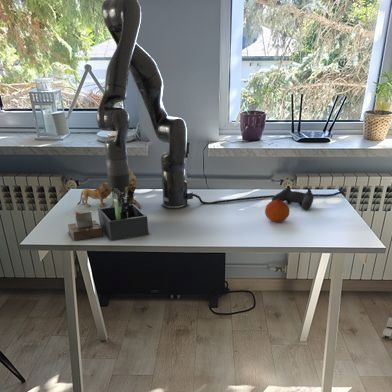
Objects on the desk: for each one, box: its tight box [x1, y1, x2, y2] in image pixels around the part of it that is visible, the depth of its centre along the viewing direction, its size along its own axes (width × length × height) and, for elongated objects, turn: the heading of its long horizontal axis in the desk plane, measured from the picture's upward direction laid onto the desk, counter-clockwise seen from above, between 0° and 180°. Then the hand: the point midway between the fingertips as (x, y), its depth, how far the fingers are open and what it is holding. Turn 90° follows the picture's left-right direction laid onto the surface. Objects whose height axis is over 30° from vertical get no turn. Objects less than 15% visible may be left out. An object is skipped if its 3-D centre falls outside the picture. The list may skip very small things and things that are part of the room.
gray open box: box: [97, 204, 149, 241], centre depth 180 cm, size 14×16×7 cm
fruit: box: [264, 199, 290, 223], centre depth 187 cm, size 9×9×8 cm
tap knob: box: [73, 209, 93, 228], centre depth 176 cm, size 6×2×5 cm, turn 114°
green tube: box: [114, 197, 128, 220], centre depth 178 cm, size 5×5×11 cm
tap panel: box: [67, 219, 103, 241], centre depth 178 cm, size 10×10×3 cm
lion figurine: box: [77, 182, 112, 208], centre depth 204 cm, size 15×5×9 cm, turn 94°
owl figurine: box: [109, 167, 141, 209], centre depth 197 cm, size 18×12×17 cm, turn 176°
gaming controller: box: [271, 184, 314, 211], centre depth 203 cm, size 17×6×10 cm
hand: (122, 220), depth 180 cm, fingers closed on green tube, 4 cm apart
